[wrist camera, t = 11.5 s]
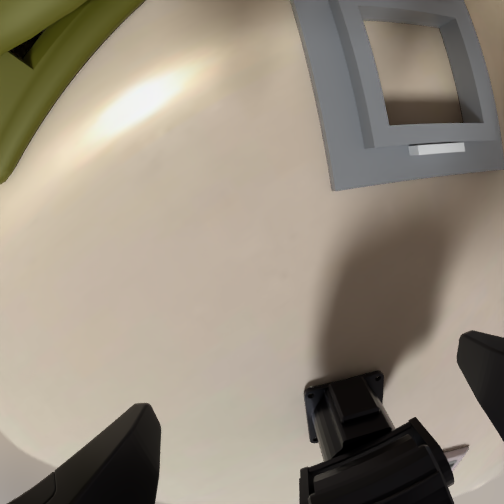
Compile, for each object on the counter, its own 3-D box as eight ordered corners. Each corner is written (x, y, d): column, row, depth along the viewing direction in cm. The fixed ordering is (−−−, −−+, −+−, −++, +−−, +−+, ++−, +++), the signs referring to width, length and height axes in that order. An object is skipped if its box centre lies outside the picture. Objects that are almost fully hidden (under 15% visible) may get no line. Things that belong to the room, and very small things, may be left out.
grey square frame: (498, 168, 19) (518, 170, 17) (331, 190, 19) (343, 193, 17) (456, -1, 15) (471, -11, 13) (284, -18, 16) (289, -36, 13)
